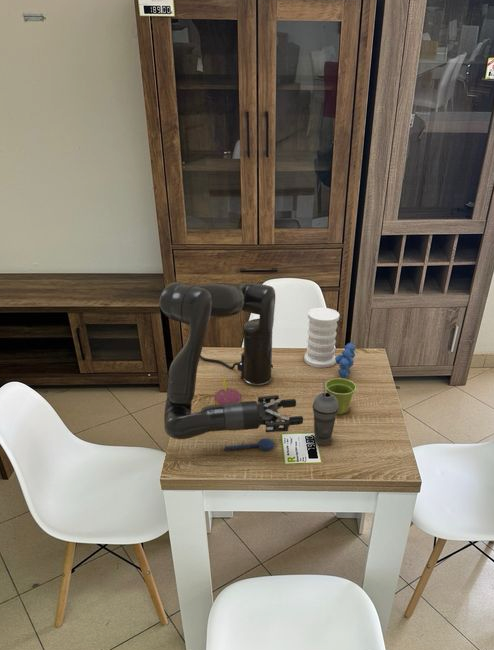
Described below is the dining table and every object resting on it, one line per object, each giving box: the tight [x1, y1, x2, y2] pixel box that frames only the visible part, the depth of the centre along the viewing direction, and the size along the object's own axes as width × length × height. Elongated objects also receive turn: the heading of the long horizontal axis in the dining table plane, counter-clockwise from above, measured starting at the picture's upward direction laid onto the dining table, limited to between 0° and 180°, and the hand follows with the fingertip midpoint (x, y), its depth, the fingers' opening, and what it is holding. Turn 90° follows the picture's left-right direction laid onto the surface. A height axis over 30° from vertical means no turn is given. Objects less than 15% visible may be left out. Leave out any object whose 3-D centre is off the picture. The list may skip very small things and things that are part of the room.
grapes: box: [335, 342, 356, 379], centre depth 185 cm, size 12×7×12 cm, turn 158°
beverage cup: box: [312, 378, 339, 446], centre depth 150 cm, size 7×7×20 cm
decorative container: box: [303, 307, 340, 369], centre depth 192 cm, size 12×12×18 cm
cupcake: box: [213, 375, 243, 405], centre depth 163 cm, size 9×8×12 cm
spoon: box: [223, 438, 275, 451], centre depth 152 cm, size 14×4×1 cm, turn 102°
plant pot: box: [325, 377, 357, 415], centre depth 167 cm, size 9×9×9 cm
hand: (299, 411), depth 149 cm, fingers open, 8 cm apart
